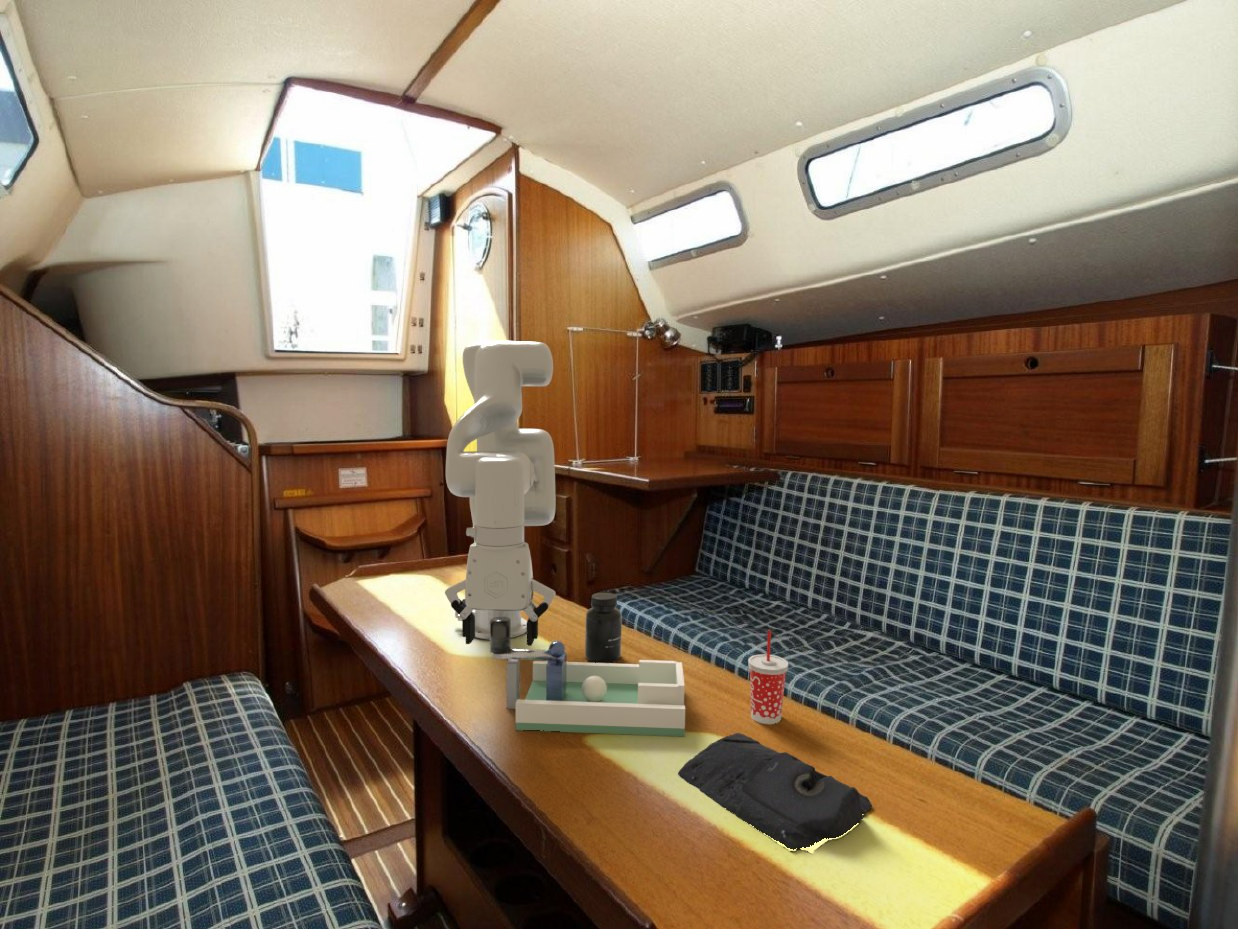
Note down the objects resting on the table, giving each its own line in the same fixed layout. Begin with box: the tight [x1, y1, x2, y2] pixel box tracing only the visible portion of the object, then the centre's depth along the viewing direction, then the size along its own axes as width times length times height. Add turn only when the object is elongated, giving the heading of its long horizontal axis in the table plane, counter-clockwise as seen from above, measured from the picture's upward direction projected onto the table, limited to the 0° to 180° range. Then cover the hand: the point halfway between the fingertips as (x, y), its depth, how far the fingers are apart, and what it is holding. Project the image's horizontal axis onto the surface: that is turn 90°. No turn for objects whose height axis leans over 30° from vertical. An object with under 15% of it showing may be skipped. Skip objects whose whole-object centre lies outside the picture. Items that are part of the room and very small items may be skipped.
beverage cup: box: [747, 629, 789, 725], centre depth 106 cm, size 6×6×14 cm
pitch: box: [505, 659, 686, 737], centre depth 108 cm, size 28×16×7 cm, turn 87°
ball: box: [582, 676, 607, 702], centre depth 108 cm, size 4×4×4 cm
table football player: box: [489, 617, 568, 701], centre depth 108 cm, size 12×6×12 cm, turn 87°
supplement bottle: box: [584, 592, 623, 663], centre depth 129 cm, size 7×7×12 cm
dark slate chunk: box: [677, 732, 873, 850], centre depth 87 cm, size 15×22×5 cm
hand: (500, 642), depth 108 cm, fingers open, 9 cm apart
